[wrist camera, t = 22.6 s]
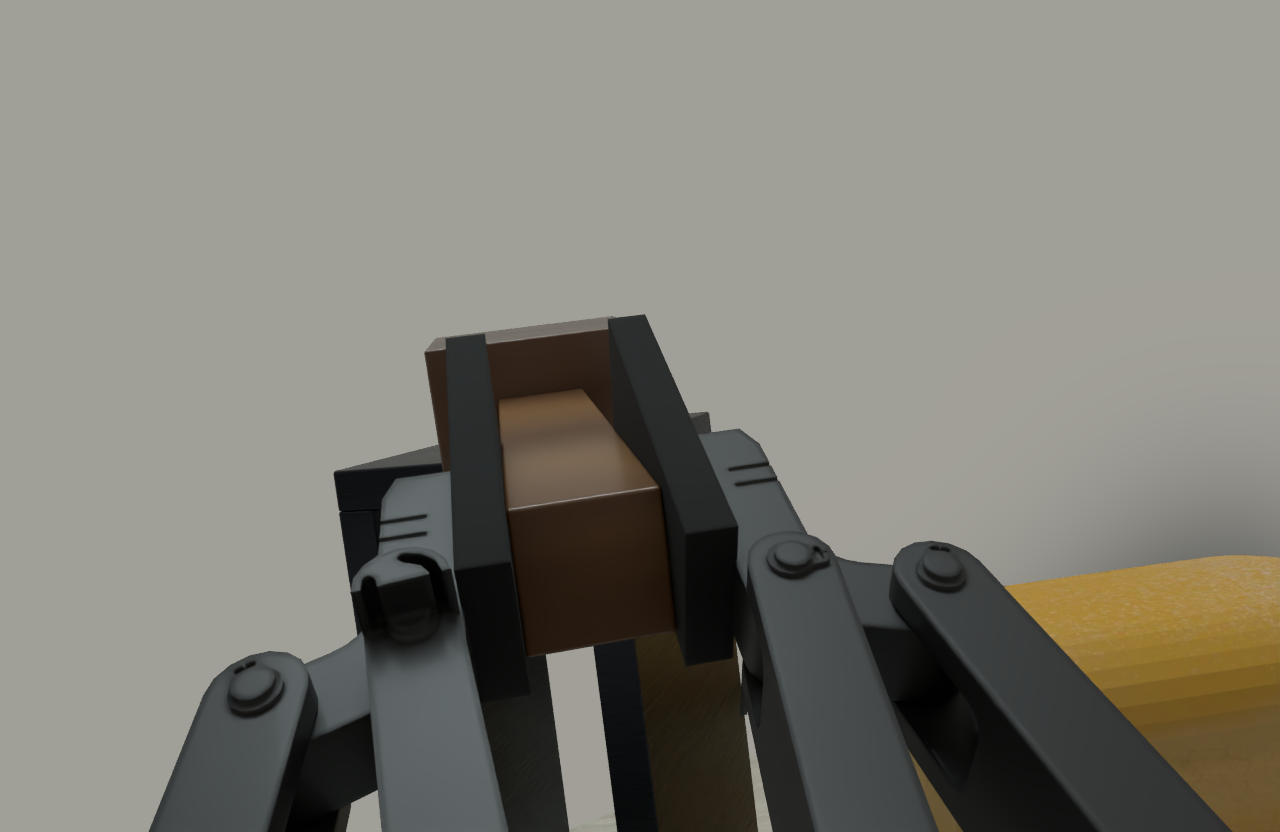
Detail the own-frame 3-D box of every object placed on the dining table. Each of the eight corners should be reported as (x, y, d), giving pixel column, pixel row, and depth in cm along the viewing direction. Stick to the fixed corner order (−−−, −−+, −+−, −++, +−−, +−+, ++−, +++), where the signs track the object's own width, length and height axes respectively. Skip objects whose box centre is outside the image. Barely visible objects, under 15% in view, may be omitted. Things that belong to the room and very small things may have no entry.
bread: (1263, 765, 55) (1246, 525, 54) (1475, 890, 42) (1458, 579, 41) (877, 827, 53) (851, 582, 52) (974, 977, 40) (942, 657, 39)
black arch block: (435, 1163, 34) (332, 471, 32) (561, 966, 44) (488, 431, 42) (709, 1235, 30) (610, 449, 28) (778, 1000, 40) (709, 411, 38)
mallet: (452, 456, 30) (434, 338, 29) (627, 431, 31) (614, 315, 30) (407, 680, 13) (362, 421, 13) (787, 613, 14) (765, 366, 14)
